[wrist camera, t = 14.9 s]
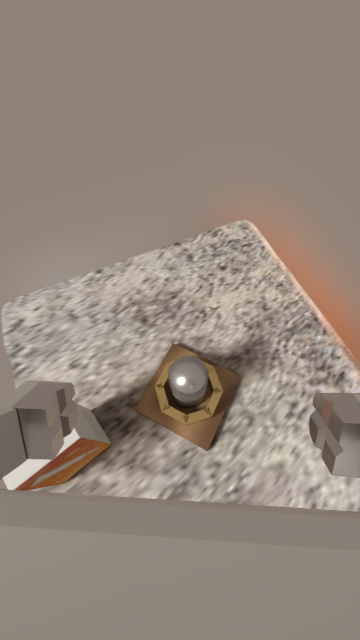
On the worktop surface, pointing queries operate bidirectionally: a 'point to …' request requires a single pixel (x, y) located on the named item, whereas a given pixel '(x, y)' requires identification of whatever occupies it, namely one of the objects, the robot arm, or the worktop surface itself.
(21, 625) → the robot arm
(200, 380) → the grey metal cylinder
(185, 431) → the board
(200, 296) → the worktop surface
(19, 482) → the small box
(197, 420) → the ring
